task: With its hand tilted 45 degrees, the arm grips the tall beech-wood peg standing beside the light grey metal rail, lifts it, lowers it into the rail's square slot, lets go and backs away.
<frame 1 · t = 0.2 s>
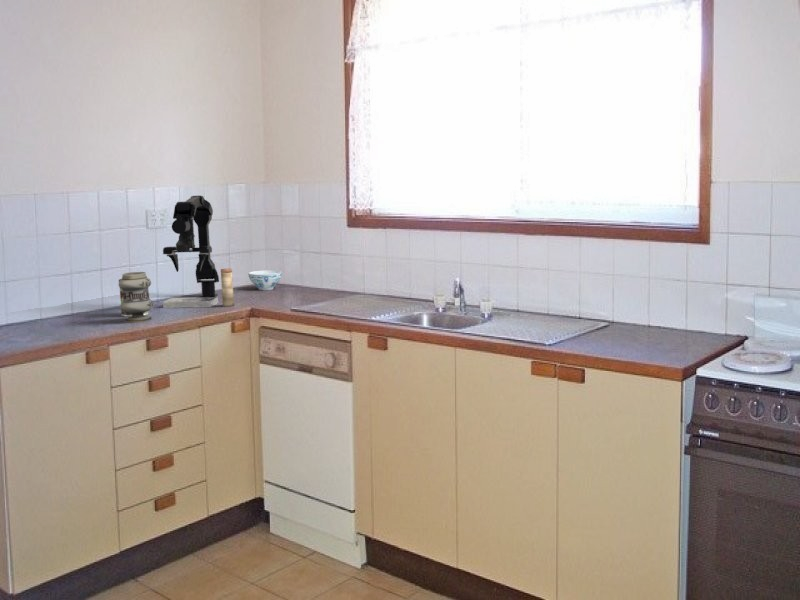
hand: (188, 271, 386), 14 cm above the counter, tool pointing down, fingers open, 9 cm apart
apothecary jar: (138, 320, 359), on the counter
chinaware: (266, 289, 433), on the counter
coffee can: (135, 315, 372), on the counter
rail: (191, 305, 391), on the counter
peg: (228, 305, 386), on the counter
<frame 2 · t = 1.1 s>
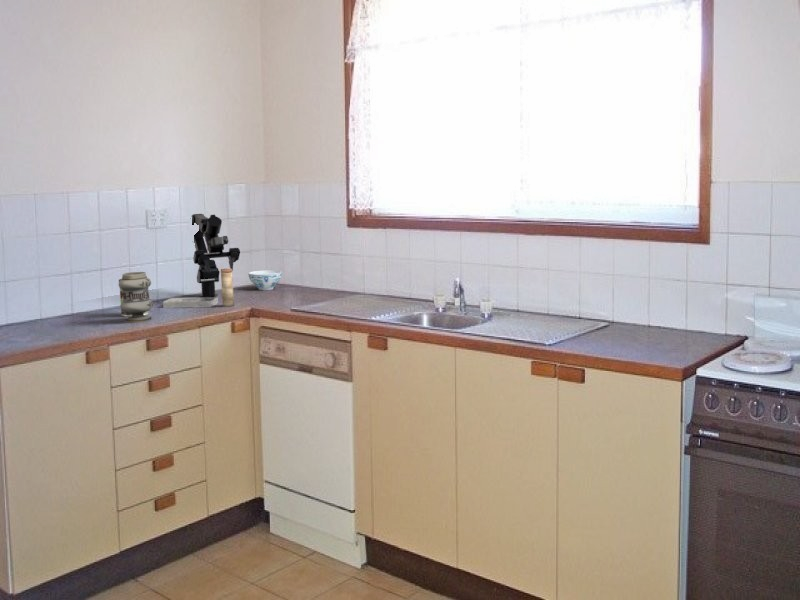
hand: (221, 271, 392), 13 cm above the counter, tool tilted 45°, fingers open, 9 cm apart
nothing on the counter moved.
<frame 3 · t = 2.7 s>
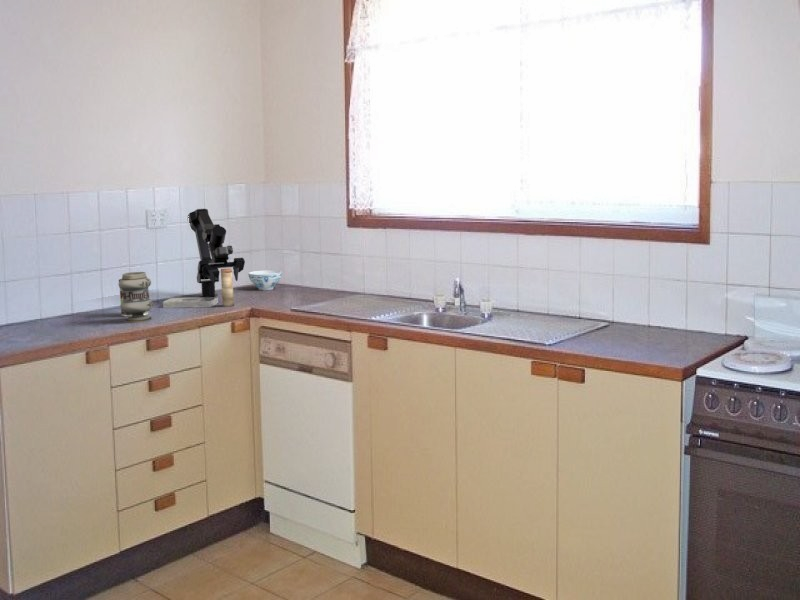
hand: (225, 281, 386), 10 cm above the counter, tool tilted 45°, fingers open, 9 cm apart
nothing on the counter moved.
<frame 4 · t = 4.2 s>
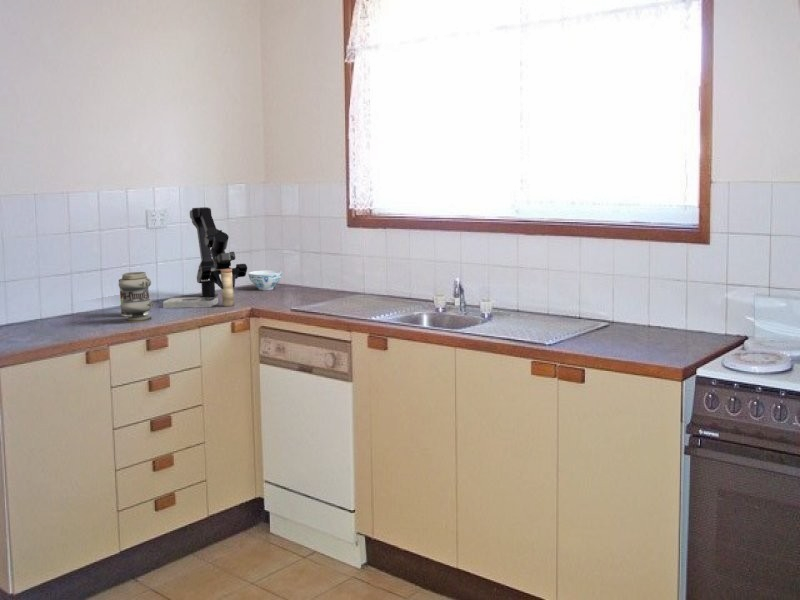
hand: (228, 287, 384), 8 cm above the counter, tool tilted 45°, fingers closed on peg, 4 cm apart
peg: (228, 305, 386), on the counter, touching gripper
everything else where it was.
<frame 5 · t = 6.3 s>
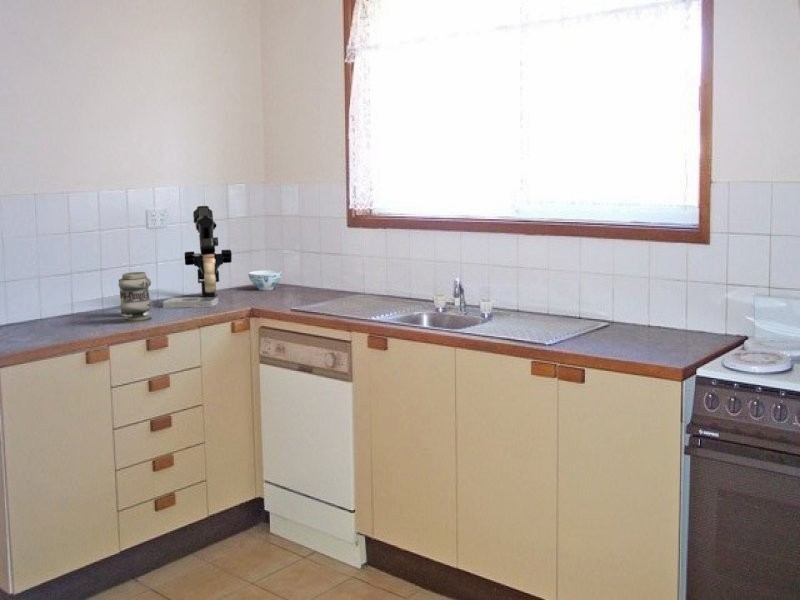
hand: (209, 273, 384), 14 cm above the counter, tool tilted 45°, fingers closed on peg, 4 cm apart
peg: (210, 291, 386), point 6 cm above the counter, touching gripper
everything else where it was.
when the fingers open (9 cm above the counter, at t = 8.6 s): peg drops 1 cm, resting in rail.
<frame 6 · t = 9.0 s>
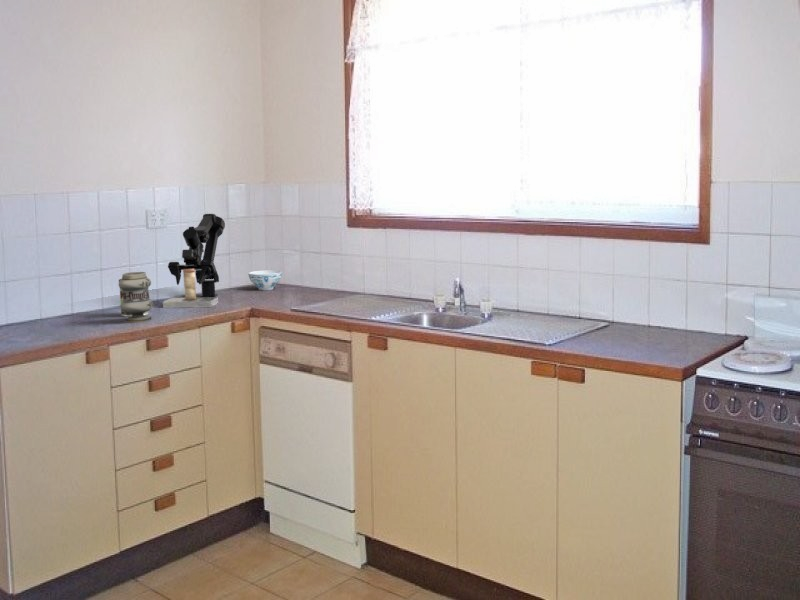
hand: (188, 284, 388), 9 cm above the counter, tool tilted 45°, fingers open, 9 cm apart
peg: (191, 305, 391), resting in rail
everything else where it was.
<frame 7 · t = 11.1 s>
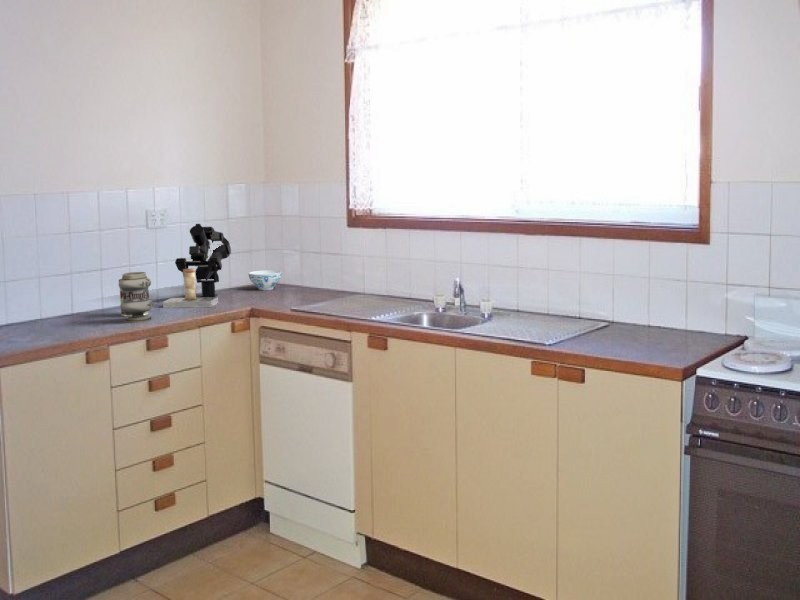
hand: (195, 279, 397), 10 cm above the counter, tool tilted 45°, fingers open, 9 cm apart
nothing on the counter moved.
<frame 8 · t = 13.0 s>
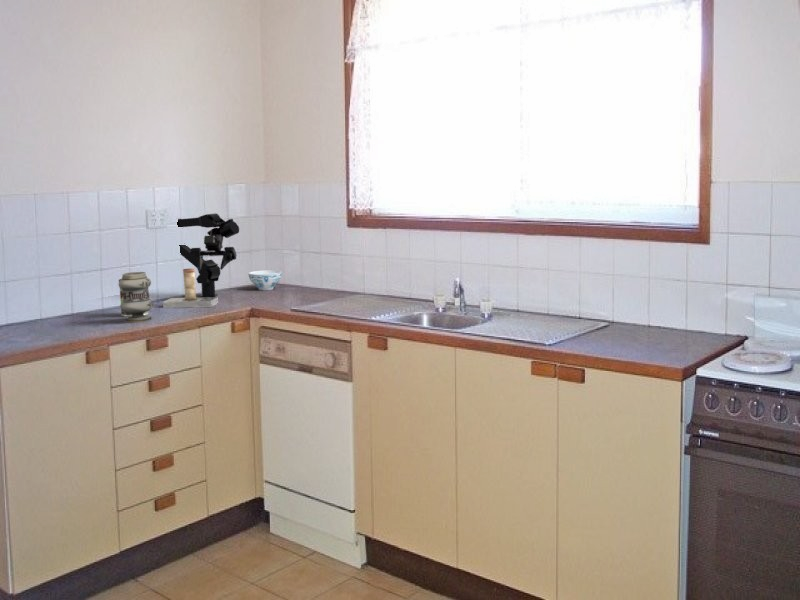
hand: (210, 269, 398), 14 cm above the counter, tool tilted 45°, fingers open, 9 cm apart
nothing on the counter moved.
at the end: peg 0.0 cm off-centre on the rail, point 0.0 cm above the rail's base; peg tilted 0°; the gripper is holding nothing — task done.
